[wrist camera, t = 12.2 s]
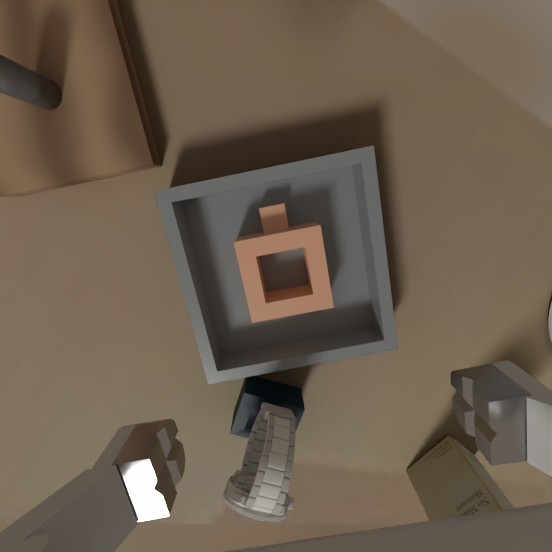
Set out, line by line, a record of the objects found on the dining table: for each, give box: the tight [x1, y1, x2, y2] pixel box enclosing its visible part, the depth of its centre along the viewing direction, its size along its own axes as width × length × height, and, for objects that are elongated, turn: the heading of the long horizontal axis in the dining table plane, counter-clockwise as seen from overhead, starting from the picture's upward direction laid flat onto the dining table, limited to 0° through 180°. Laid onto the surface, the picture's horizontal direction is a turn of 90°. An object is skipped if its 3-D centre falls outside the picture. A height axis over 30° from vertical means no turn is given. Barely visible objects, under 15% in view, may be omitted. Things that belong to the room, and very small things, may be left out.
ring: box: [234, 203, 334, 323], centre depth 27 cm, size 7×9×3 cm
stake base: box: [0, 0, 162, 196], centre depth 22 cm, size 12×12×6 cm
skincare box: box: [406, 435, 514, 521], centre depth 29 cm, size 6×4×12 cm
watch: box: [223, 376, 304, 522], centre depth 27 cm, size 6×8×11 cm
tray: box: [154, 145, 398, 384], centre depth 27 cm, size 16×16×4 cm
